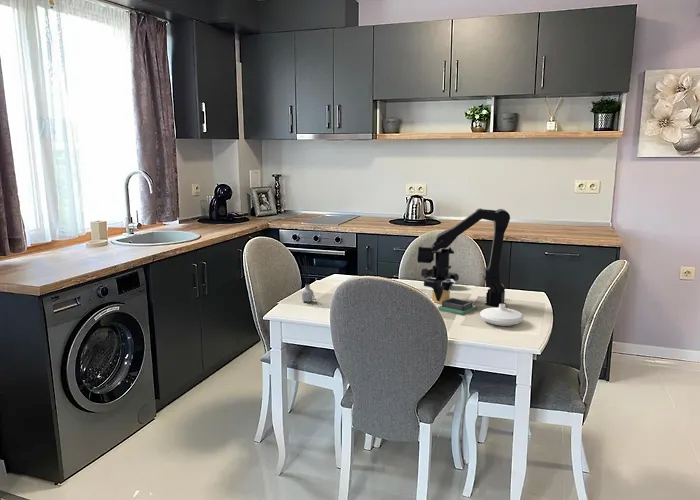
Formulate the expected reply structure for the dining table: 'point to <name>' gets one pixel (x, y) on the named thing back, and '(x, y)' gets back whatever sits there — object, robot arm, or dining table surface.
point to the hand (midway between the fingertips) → (440, 299)
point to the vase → (501, 316)
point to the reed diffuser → (307, 287)
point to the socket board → (457, 306)
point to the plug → (444, 296)
